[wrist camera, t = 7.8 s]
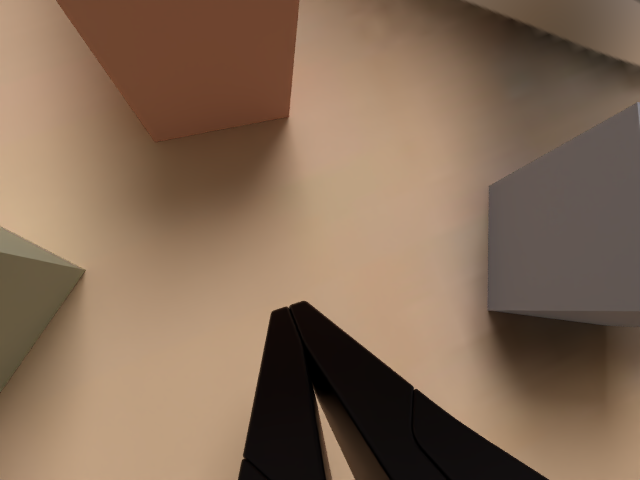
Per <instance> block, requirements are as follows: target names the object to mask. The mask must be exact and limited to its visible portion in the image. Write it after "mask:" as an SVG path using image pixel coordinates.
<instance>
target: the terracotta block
mask: <svg viewBox="0 0 640 480" xmlns="http://www.w3.org/2000/svg"><path fill="white" fill-rule="evenodd" d="M56 1H57V2H58V4H59V5H60V7H61V8H62V10H63V11H64V12H65V14H66V15H67V17H68V18H69V20H70V21H71V22H72V24H73V25H74V27H75V28H76V30H77V31H78V32H79V34H80V35H81V37H82V38H83V40H84V41H85V43H86V44H87V45H88V47H89V48H90V50H91V51H92V53H93V54H94V55H95V57H96V58H97V60H98V61H99V63H100V64H101V65H102V67H103V68H104V70H105V71H106V73H107V74H108V75H109V77H110V78H111V80H112V81H113V83H114V84H115V86H116V87H117V88H118V90H119V91H120V93H121V94H122V96H123V97H124V98H125V100H126V101H127V103H128V104H129V106H130V107H131V108H132V110H133V111H134V113H135V114H136V116H137V117H138V118H139V120H140V121H141V123H142V124H143V126H144V127H145V128H146V130H147V131H148V133H149V134H150V136H151V137H152V139H153V140H154V141H155V142H159V141H164V140H169V139H174V138H180V137H185V136H190V135H195V134H201V133H206V132H211V131H216V130H222V129H227V128H232V127H238V126H243V125H248V124H253V123H259V122H264V121H269V120H274V119H280V118H285V117H289V109H290V98H291V87H292V75H293V64H294V53H295V42H296V31H297V20H298V9H299V0H56Z"/></svg>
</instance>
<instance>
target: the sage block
mask: <svg viewBox="0 0 640 480" xmlns="http://www.w3.org/2000/svg"><path fill="white" fill-rule="evenodd" d="M84 272H85V269H83V268H81V267H79V266H77V265H75V264H73V263H71V262H69V261H67V260H65V259H63V258H61V257H59V256H57V255H56V254H54V253H52V252H50V251H48V250H46V249H44V248H42V247H40V246H38V245H36V244H34V243H32V242H30V241H28V240H26V239H24V238H23V237H21V236H19V235H17V234H15V233H13V232H11V231H9V230H7V229H5V228H3V227H1V226H0V392H1V391H2V389H3V388H4V387H5V385H6V384H7V382H8V381H9V379H10V378H11V377H12V375H13V374H14V372H15V371H16V369H17V368H18V366H19V365H20V364H21V362H22V361H23V359H24V358H25V356H26V355H27V354H28V352H29V351H30V349H31V348H32V346H33V345H34V344H35V342H36V341H37V339H38V338H39V336H40V335H41V333H42V332H43V331H44V329H45V328H46V326H47V325H48V323H49V322H50V321H51V319H52V318H53V316H54V315H55V313H56V312H57V311H58V309H59V308H60V306H61V305H62V303H63V302H64V300H65V299H66V298H67V296H68V295H69V293H70V292H71V290H72V289H73V288H74V286H75V285H76V283H77V282H78V280H79V279H80V277H81V276H82V275H83V273H84Z"/></svg>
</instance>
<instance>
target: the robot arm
mask: <svg viewBox="0 0 640 480" xmlns="http://www.w3.org/2000/svg"><path fill="white" fill-rule="evenodd" d="M313 388H314V389H313ZM314 391H315V393H314ZM315 394H316V396H317V399H318V401H319V403H320V405H321V408H322V410H323V412H324V414H325V416H326V418H327V420H328V422H329V425H330V427H331V429H332V431H333V433H334V435H335V437H336V440H337V442H338V444H339V446H340V448H341V450H342V452H343V454H344V457H345V459H346V461H347V463H348V465H349V467H350V469H351V472H352V474H353V476H354V478H355V480H549V479H547V478H546V477H544V476H542V475H541V474H539V473H538V472H536V471H535V470H533V469H532V468H530V467H528V466H527V465H525V464H524V463H522V462H521V461H519V460H518V459H516V458H514V457H513V456H511V455H510V454H508V453H507V452H505V451H504V450H502V449H500V448H499V447H497V446H496V445H494V444H493V443H491V442H489V441H488V440H486V439H485V438H483V437H482V436H480V435H479V434H477V433H476V432H474V431H473V430H471V429H470V428H468V427H467V426H466V425H464V424H463V423H461V422H460V421H458V420H457V419H455V418H454V417H453V416H451V415H450V414H449V413H447V412H446V411H445V410H443V409H442V408H441V407H439V406H438V405H437V404H435V403H434V402H433V401H431V400H430V399H429V398H428V397H426V396H425V395H424V394H423V393H421V392H420V391H419V390H418V389H414V387H413V386H412V385H411V384H410V383H408V382H407V381H406V380H405V379H403V378H402V377H401V376H400V375H398V374H397V373H396V372H395V371H393V370H392V369H391V368H390V367H388V366H387V365H386V364H385V363H383V362H382V361H381V360H380V359H378V358H377V357H376V356H375V355H373V354H372V353H371V352H370V351H368V350H367V349H366V348H364V347H363V346H362V345H361V344H359V343H358V342H357V341H356V340H354V339H353V338H352V337H351V336H349V335H348V334H347V333H346V332H344V331H343V330H342V329H341V328H339V327H338V326H337V325H336V324H334V323H333V322H332V321H331V320H329V319H328V318H327V317H326V316H324V315H323V314H322V313H320V312H319V311H318V310H317V309H315V308H314V307H313V306H312V305H310V304H309V303H308V302H306V301H301V302H298V303H295V304H292V305H290V307H289V308H288V307H283V308H280V309H277V310H274V311H272V313H271V316H270V321H269V326H268V331H267V336H266V341H265V346H264V351H263V357H262V362H261V367H260V372H259V377H258V382H257V387H256V392H255V397H254V402H253V407H252V412H251V417H250V422H249V427H248V432H247V438H246V443H245V448H244V453H243V457H244V459H243V460H242V462H241V467H240V472H239V477H238V480H332V477H331V472H330V467H329V462H328V456H327V451H326V446H325V441H324V436H323V431H322V426H321V421H320V416H319V411H318V406H317V401H316V397H315Z"/></svg>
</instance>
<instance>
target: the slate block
mask: <svg viewBox="0 0 640 480" xmlns="http://www.w3.org/2000/svg"><path fill="white" fill-rule="evenodd" d="M488 310H489V311H497V312H505V313H513V314H520V315H528V316H536V317H544V318H551V319H559V320H567V321H575V322H582V323H590V324H598V325H606V326H626V327H640V103H639V102H637V103H635V104H633V105H632V106H630V107H628V108H626V109H624V110H623V111H621V112H619V113H617V114H616V115H614V116H612V117H610V118H609V119H607V120H605V121H603V122H601V123H600V124H598V125H596V126H594V127H593V128H591V129H589V130H587V131H585V132H584V133H582V134H580V135H578V136H577V137H575V138H573V139H571V140H570V141H568V142H566V143H564V144H562V145H561V146H559V147H557V148H555V149H554V150H552V151H550V152H548V153H547V154H545V155H543V156H541V157H539V158H538V159H536V160H534V161H532V162H531V163H529V164H527V165H525V166H523V167H522V168H520V169H518V170H516V171H515V172H513V173H511V174H509V175H508V176H506V177H504V178H502V179H500V180H499V181H497V182H495V183H493V184H492V185H490V186H489V231H488Z"/></svg>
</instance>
